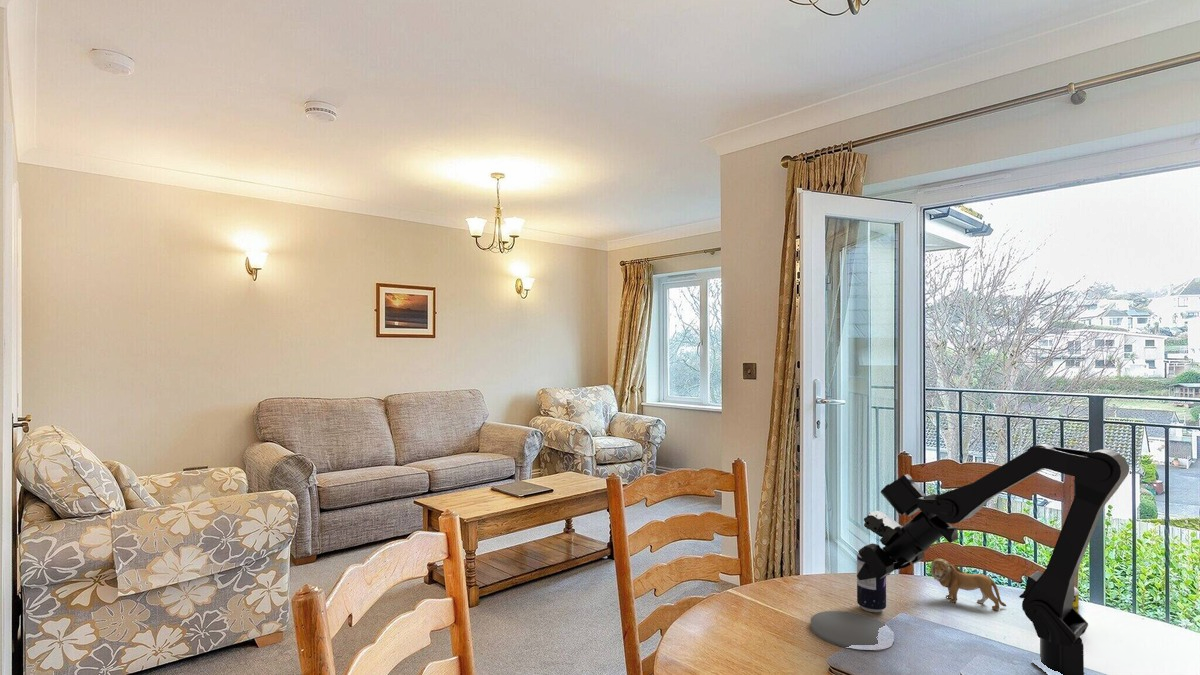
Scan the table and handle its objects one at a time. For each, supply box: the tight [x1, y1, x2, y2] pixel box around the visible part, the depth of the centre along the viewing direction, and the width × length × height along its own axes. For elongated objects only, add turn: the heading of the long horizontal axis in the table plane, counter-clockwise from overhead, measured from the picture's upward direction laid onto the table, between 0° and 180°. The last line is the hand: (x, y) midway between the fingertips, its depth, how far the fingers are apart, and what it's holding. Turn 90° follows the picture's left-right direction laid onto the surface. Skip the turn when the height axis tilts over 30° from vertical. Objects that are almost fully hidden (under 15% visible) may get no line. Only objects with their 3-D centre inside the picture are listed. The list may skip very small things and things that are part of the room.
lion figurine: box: [930, 558, 1007, 611], centre depth 135 cm, size 15×5×9 cm, turn 70°
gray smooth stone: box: [810, 610, 886, 649], centre depth 118 cm, size 15×15×1 cm
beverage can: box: [856, 547, 887, 613], centre depth 130 cm, size 6×6×12 cm
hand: (865, 575), depth 131 cm, fingers closed on beverage can, 6 cm apart
